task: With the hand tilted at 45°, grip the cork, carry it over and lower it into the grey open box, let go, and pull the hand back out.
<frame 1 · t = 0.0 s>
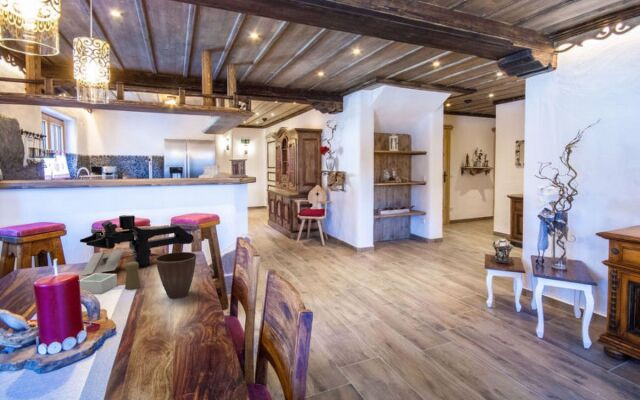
hand: (83, 242, 158), 17 cm above the table, tool horizontal, fingers open, 9 cm apart
grey open box: (98, 288, 145), on the table
cork: (133, 287, 148), on the table
plant pot: (177, 295, 139), on the table
grey slanted panel stand: (104, 271, 170), on the table
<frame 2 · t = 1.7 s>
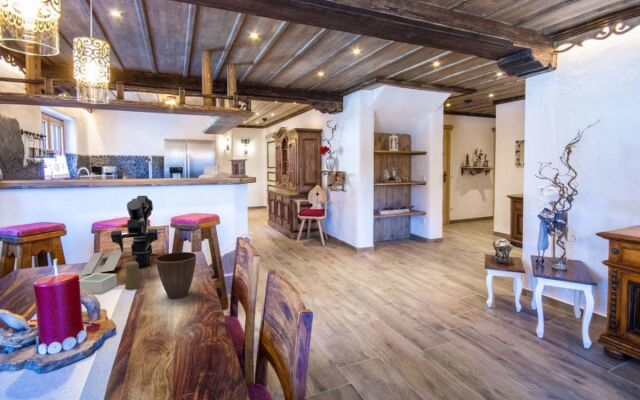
hand: (133, 251, 154), 14 cm above the table, tool tilted 45°, fingers open, 9 cm apart
nothing on the table moved.
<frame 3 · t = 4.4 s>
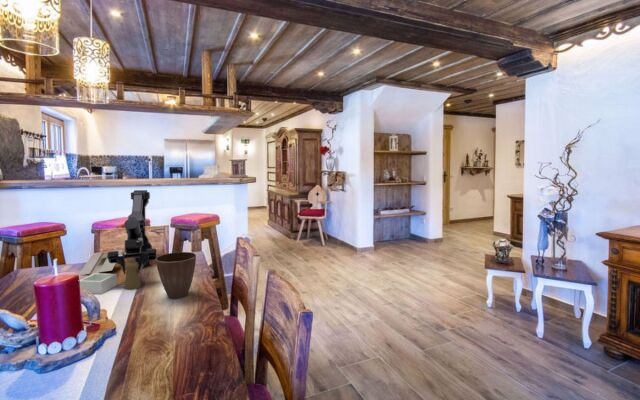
hand: (131, 273, 146), 7 cm above the table, tool tilted 45°, fingers closed on cork, 5 cm apart
cork: (132, 287, 148), on the table, touching gripper
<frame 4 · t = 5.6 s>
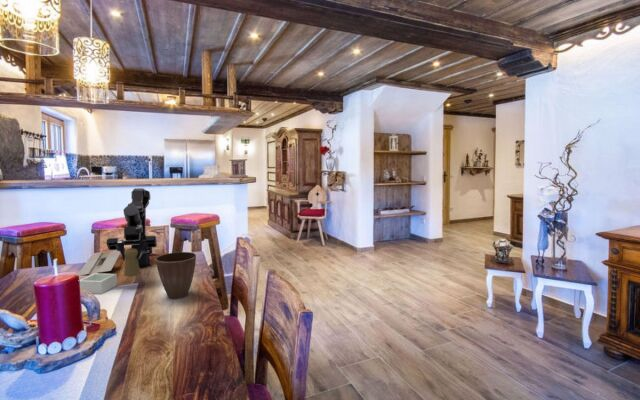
hand: (131, 259, 145), 12 cm above the table, tool tilted 45°, fingers closed on cork, 5 cm apart
cork: (132, 274, 147), point 5 cm above the table, touching gripper
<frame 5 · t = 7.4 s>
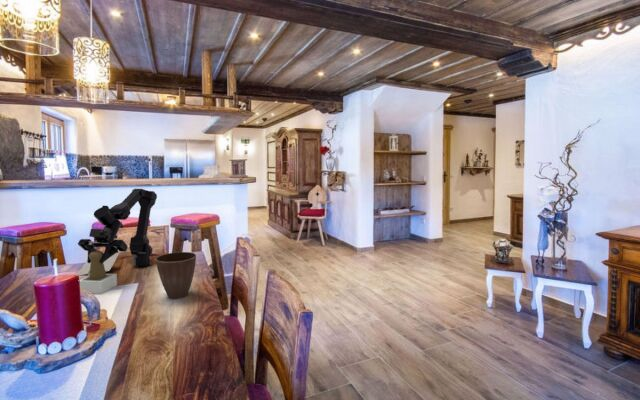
hand: (94, 262, 143), 12 cm above the table, tool tilted 45°, fingers closed on cork, 5 cm apart
cork: (97, 277, 145), point 5 cm above the table, touching gripper
when the fingers open (8 cm above the table, at t = 8.4 s): cork stays where it is, resting on grey open box.
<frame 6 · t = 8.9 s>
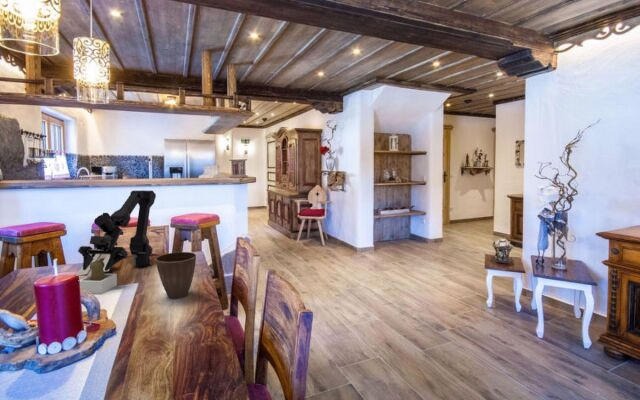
hand: (94, 270, 143), 9 cm above the table, tool tilted 45°, fingers open, 9 cm apart
cork: (98, 287, 145), point 1 cm above the table, touching grey open box
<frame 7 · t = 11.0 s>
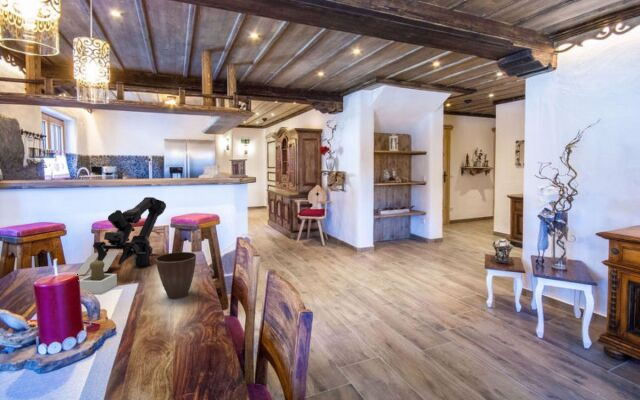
hand: (108, 264, 152), 8 cm above the table, tool tilted 45°, fingers open, 9 cm apart
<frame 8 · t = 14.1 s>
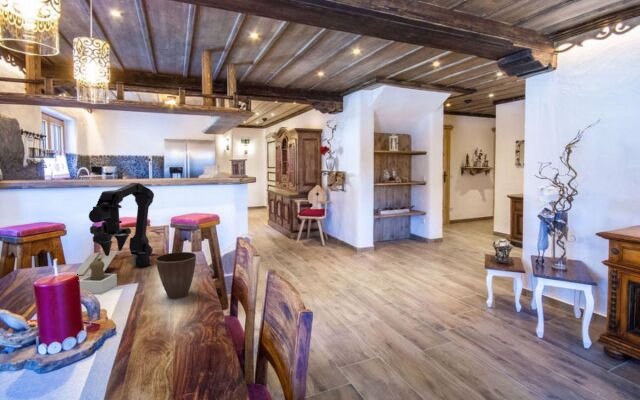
hand: (113, 253, 157), 12 cm above the table, tool pointing down, fingers open, 9 cm apart
at the end: cork 0.2 cm off-centre on the grey open box, point 0.6 cm above the grey open box's base; cork tilted 0°; the gripper is holding nothing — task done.
